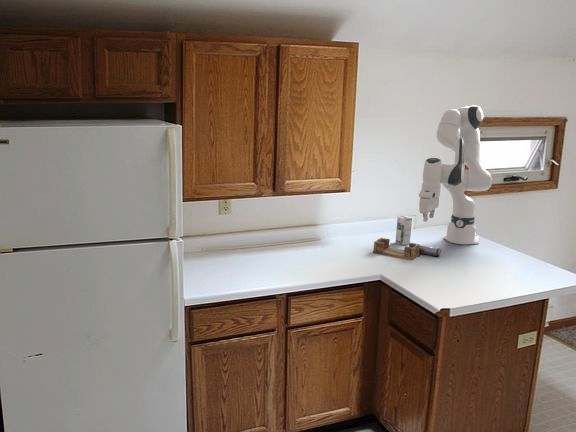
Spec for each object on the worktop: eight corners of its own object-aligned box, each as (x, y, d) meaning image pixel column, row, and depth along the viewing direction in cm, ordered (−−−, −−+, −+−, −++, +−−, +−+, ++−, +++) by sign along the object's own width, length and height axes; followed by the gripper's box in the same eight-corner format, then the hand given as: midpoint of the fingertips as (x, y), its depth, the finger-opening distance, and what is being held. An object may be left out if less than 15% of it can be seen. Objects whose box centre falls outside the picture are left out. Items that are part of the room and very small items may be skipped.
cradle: (380, 248, 297) (381, 237, 296) (419, 254, 288) (420, 244, 286) (373, 252, 289) (373, 242, 288) (412, 260, 279) (413, 249, 278)
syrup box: (394, 242, 308) (396, 215, 305) (404, 241, 311) (406, 215, 307) (401, 245, 303) (403, 218, 300) (410, 244, 306) (412, 217, 302)
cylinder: (413, 250, 294) (413, 243, 293) (440, 255, 287) (441, 247, 286) (410, 252, 291) (411, 245, 290) (438, 257, 284) (438, 249, 283)
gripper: (430, 188, 292) (428, 214, 295) (417, 194, 275) (415, 222, 278) (443, 189, 289) (440, 216, 292) (430, 195, 271) (428, 224, 275)
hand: (428, 219), depth 285 cm, fingers open, 8 cm apart
